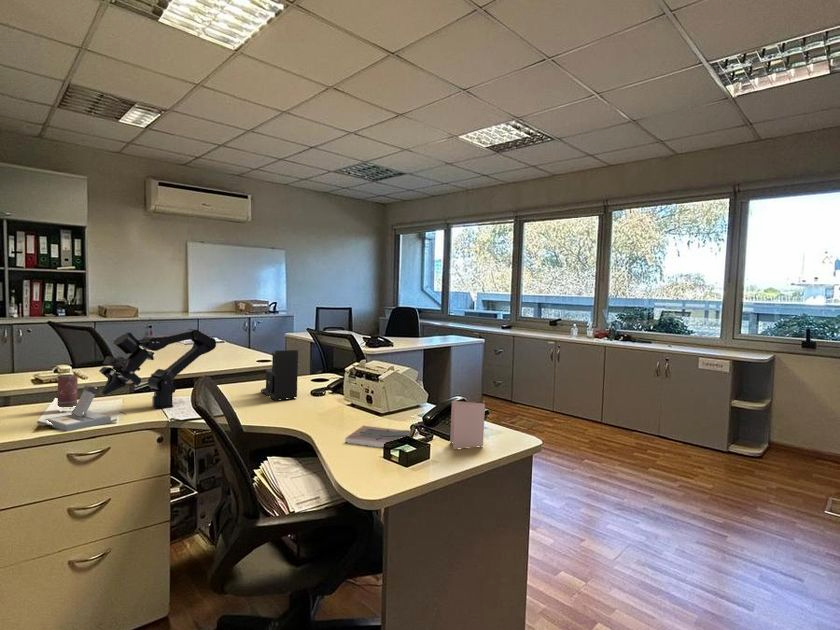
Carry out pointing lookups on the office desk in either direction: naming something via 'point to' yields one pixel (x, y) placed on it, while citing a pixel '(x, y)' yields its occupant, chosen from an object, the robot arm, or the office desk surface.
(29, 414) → the office desk surface
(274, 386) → the bookend
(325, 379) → the office desk surface
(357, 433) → the pale purple book
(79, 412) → the toggle lever
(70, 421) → the switch base
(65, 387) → the can
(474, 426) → the greeting card
